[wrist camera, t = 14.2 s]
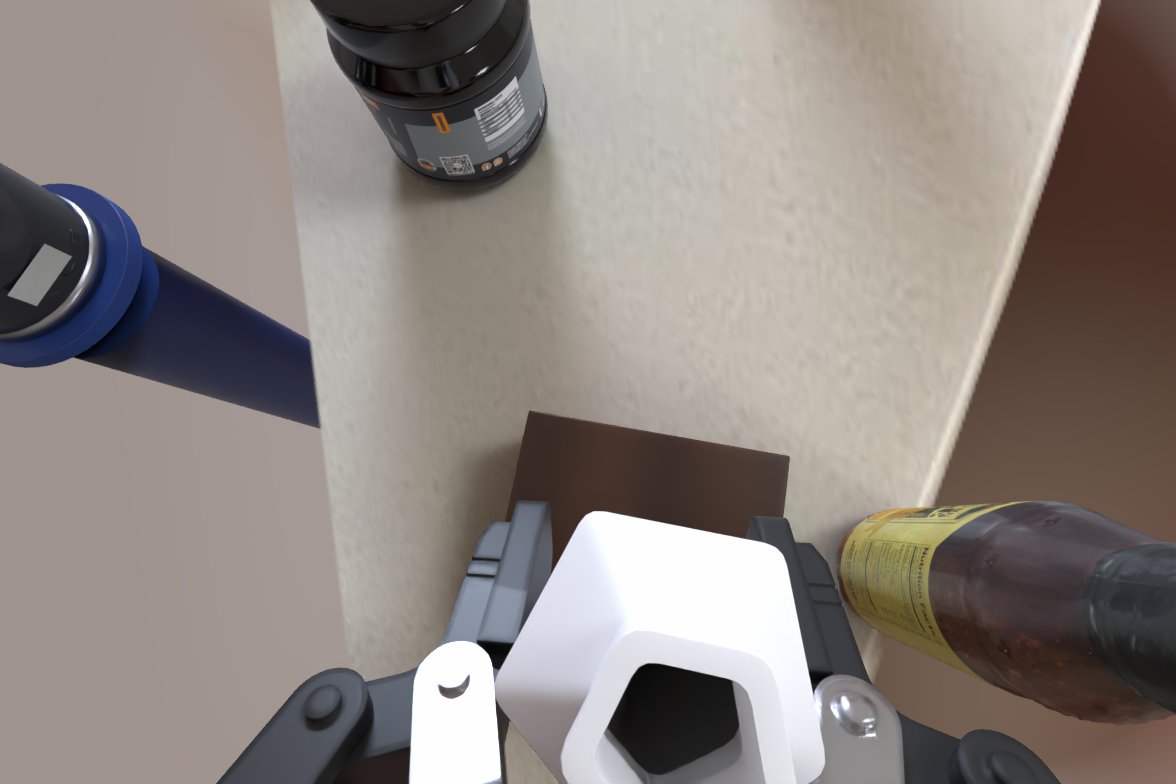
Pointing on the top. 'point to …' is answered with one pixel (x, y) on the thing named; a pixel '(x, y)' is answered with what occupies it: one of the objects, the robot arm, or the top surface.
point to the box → (643, 478)
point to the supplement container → (445, 82)
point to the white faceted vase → (664, 662)
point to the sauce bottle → (1025, 601)
